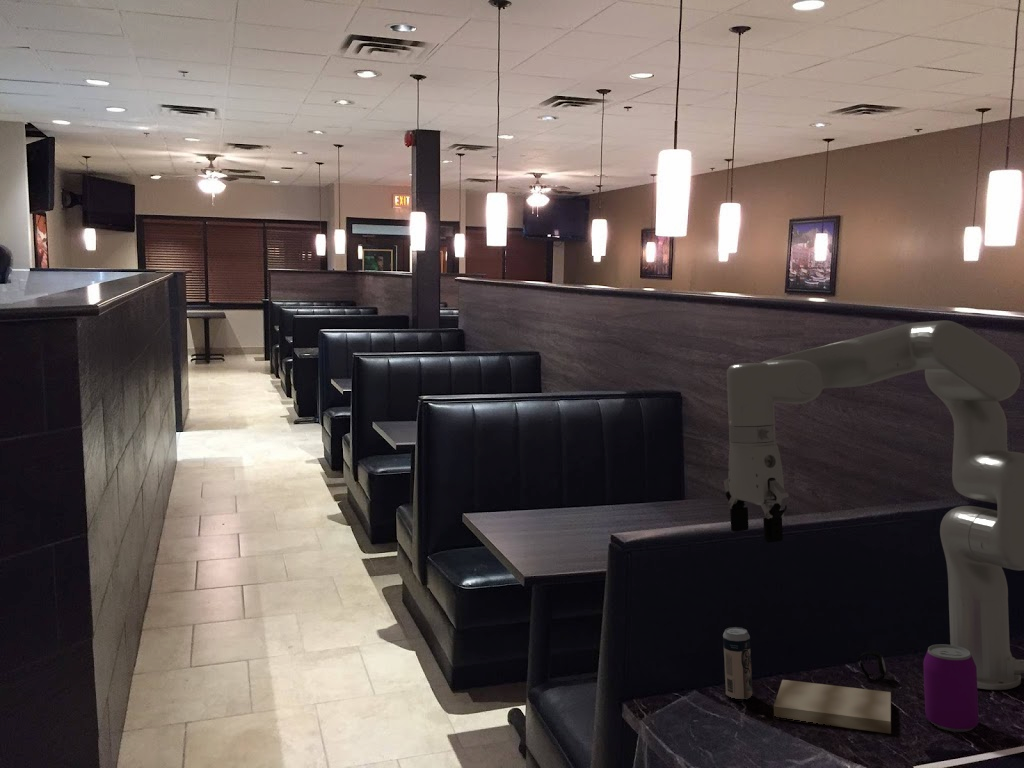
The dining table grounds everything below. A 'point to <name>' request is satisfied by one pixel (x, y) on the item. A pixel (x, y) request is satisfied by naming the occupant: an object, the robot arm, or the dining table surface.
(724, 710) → the dining table surface
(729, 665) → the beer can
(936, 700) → the beverage can
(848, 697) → the birch board
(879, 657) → the smartwatch
